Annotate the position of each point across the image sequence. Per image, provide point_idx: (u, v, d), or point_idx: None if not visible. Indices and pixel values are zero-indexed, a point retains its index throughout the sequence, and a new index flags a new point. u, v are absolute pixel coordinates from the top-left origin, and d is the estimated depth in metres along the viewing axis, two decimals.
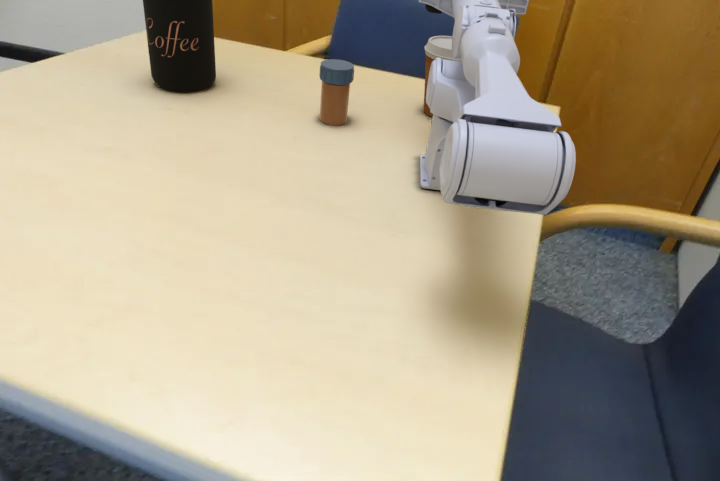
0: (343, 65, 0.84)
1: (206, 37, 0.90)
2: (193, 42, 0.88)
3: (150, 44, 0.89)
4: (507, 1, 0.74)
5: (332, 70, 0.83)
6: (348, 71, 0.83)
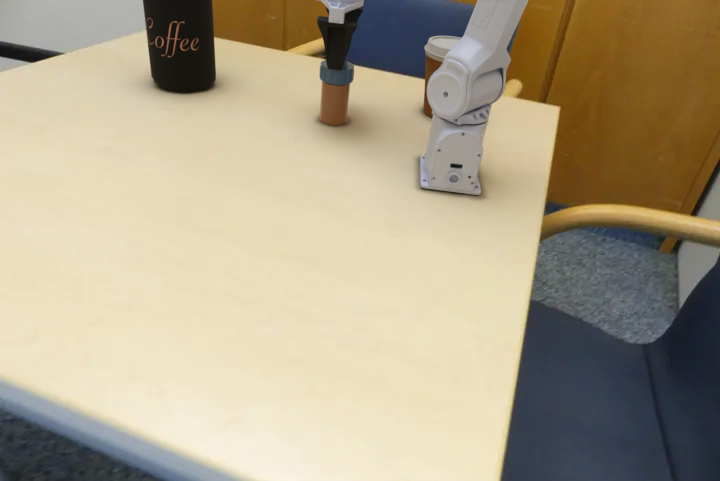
0: (343, 65, 0.84)
1: (206, 37, 0.90)
2: (193, 42, 0.88)
3: (150, 44, 0.89)
4: None
5: (332, 70, 0.83)
6: (348, 71, 0.83)
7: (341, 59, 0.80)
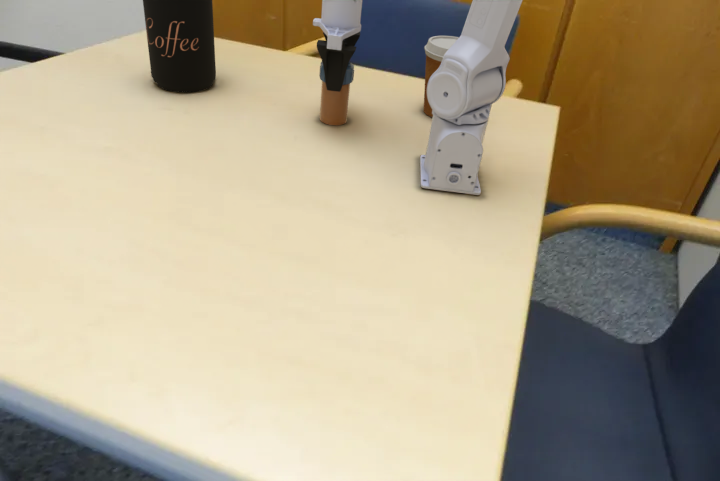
0: None
1: (206, 37, 0.90)
2: (193, 42, 0.88)
3: (150, 44, 0.89)
4: None
5: None
6: (348, 71, 0.83)
7: (340, 81, 0.83)
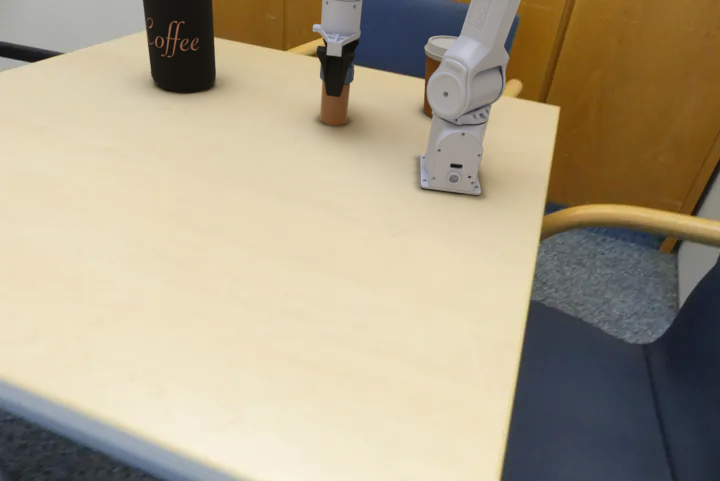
0: None
1: (206, 37, 0.90)
2: (193, 42, 0.88)
3: (150, 44, 0.89)
4: None
5: None
6: (353, 67, 0.85)
7: (339, 86, 0.83)
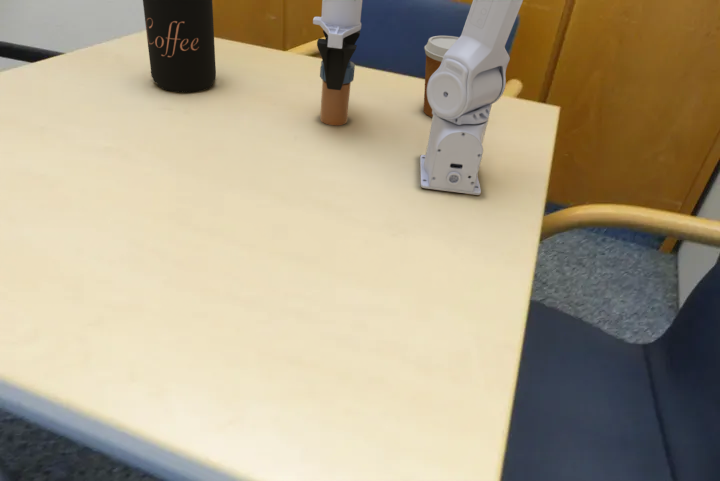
0: None
1: (206, 37, 0.90)
2: (193, 42, 0.88)
3: (150, 44, 0.89)
4: None
5: (354, 67, 0.84)
6: None
7: (340, 79, 0.82)
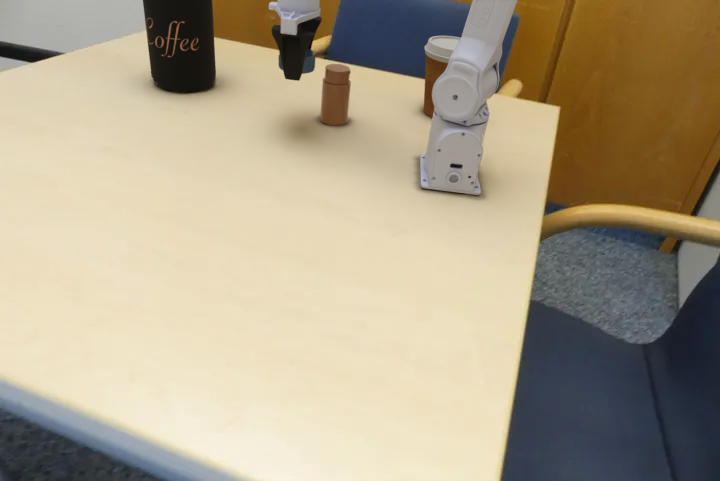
0: None
1: (206, 37, 0.90)
2: (193, 42, 0.88)
3: (150, 44, 0.89)
4: None
5: (314, 56, 0.79)
6: None
7: (298, 69, 0.77)
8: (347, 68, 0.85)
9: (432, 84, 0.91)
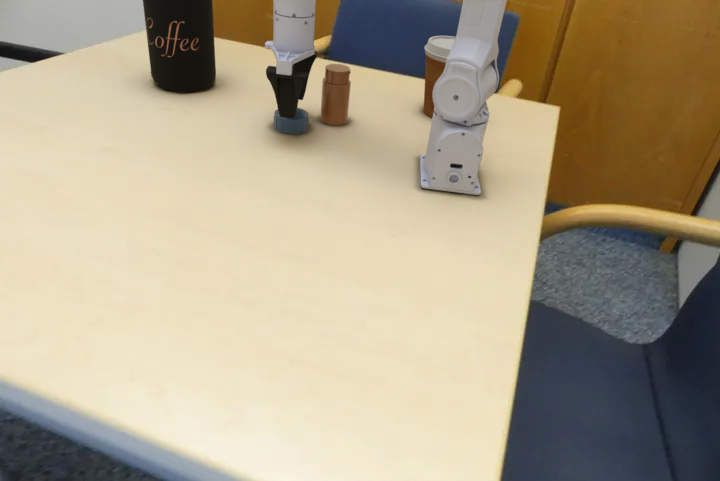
0: None
1: (206, 37, 0.90)
2: (193, 42, 0.88)
3: (150, 44, 0.89)
4: None
5: (307, 117, 0.84)
6: None
7: (293, 107, 0.79)
8: (347, 68, 0.85)
9: (432, 84, 0.91)
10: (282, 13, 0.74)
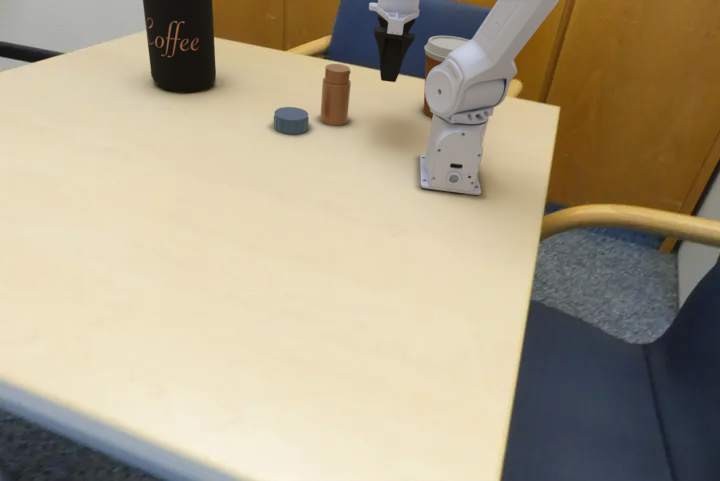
0: (293, 111, 0.85)
1: (206, 37, 0.90)
2: (193, 42, 0.88)
3: (150, 44, 0.89)
4: None
5: (307, 117, 0.84)
6: None
7: (396, 70, 0.78)
8: (347, 68, 0.85)
9: None
10: None
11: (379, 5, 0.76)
